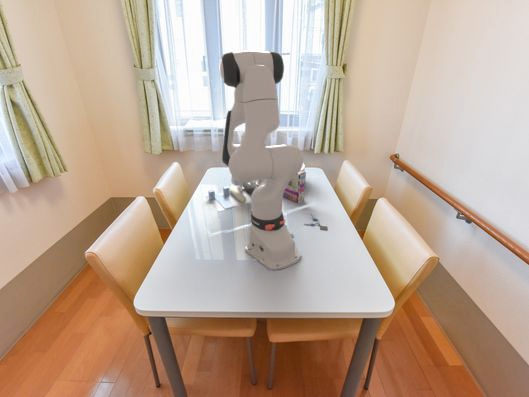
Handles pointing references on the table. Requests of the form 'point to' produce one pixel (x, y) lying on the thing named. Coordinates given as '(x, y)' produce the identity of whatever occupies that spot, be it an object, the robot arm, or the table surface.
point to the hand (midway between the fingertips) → (250, 188)
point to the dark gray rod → (248, 188)
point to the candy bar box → (296, 187)
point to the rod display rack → (228, 198)
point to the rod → (237, 194)
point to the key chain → (318, 225)
